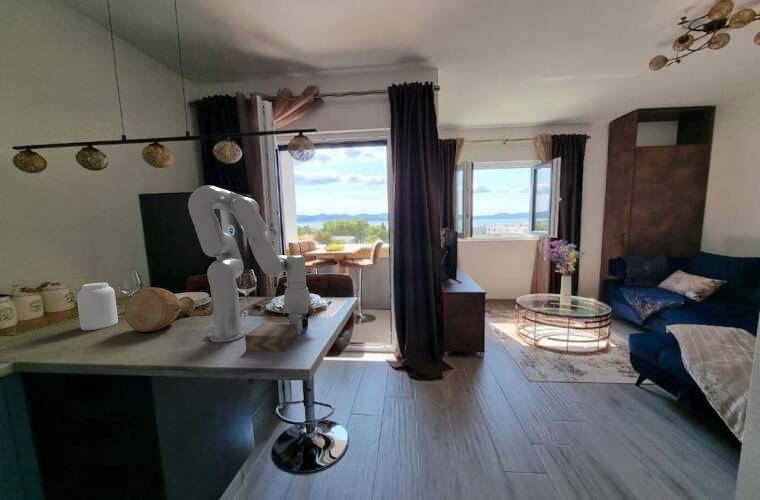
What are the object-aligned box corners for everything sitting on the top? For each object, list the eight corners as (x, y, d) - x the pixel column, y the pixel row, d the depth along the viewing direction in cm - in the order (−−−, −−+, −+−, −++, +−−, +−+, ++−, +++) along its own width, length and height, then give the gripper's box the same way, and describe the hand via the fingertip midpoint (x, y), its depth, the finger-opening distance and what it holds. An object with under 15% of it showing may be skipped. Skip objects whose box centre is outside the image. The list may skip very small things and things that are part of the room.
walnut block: (246, 351, 102) (245, 335, 102) (264, 338, 114) (263, 323, 114) (283, 352, 100) (282, 336, 100) (297, 339, 112) (296, 324, 112)
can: (100, 330, 126) (94, 286, 124) (72, 331, 126) (66, 286, 124) (125, 321, 139) (121, 280, 137) (100, 321, 139) (95, 281, 137)
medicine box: (299, 335, 115) (298, 314, 114) (289, 334, 116) (288, 313, 115) (308, 328, 123) (307, 308, 122) (298, 327, 124) (297, 308, 123)
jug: (101, 310, 116) (157, 299, 146) (130, 346, 116) (180, 328, 146) (141, 279, 117) (188, 274, 147) (169, 315, 117) (211, 303, 147)
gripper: (272, 287, 115) (275, 330, 117) (313, 287, 113) (315, 331, 115) (281, 283, 122) (283, 324, 124) (319, 283, 120) (321, 325, 122)
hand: (299, 327), depth 119 cm, fingers closed on medicine box, 4 cm apart
